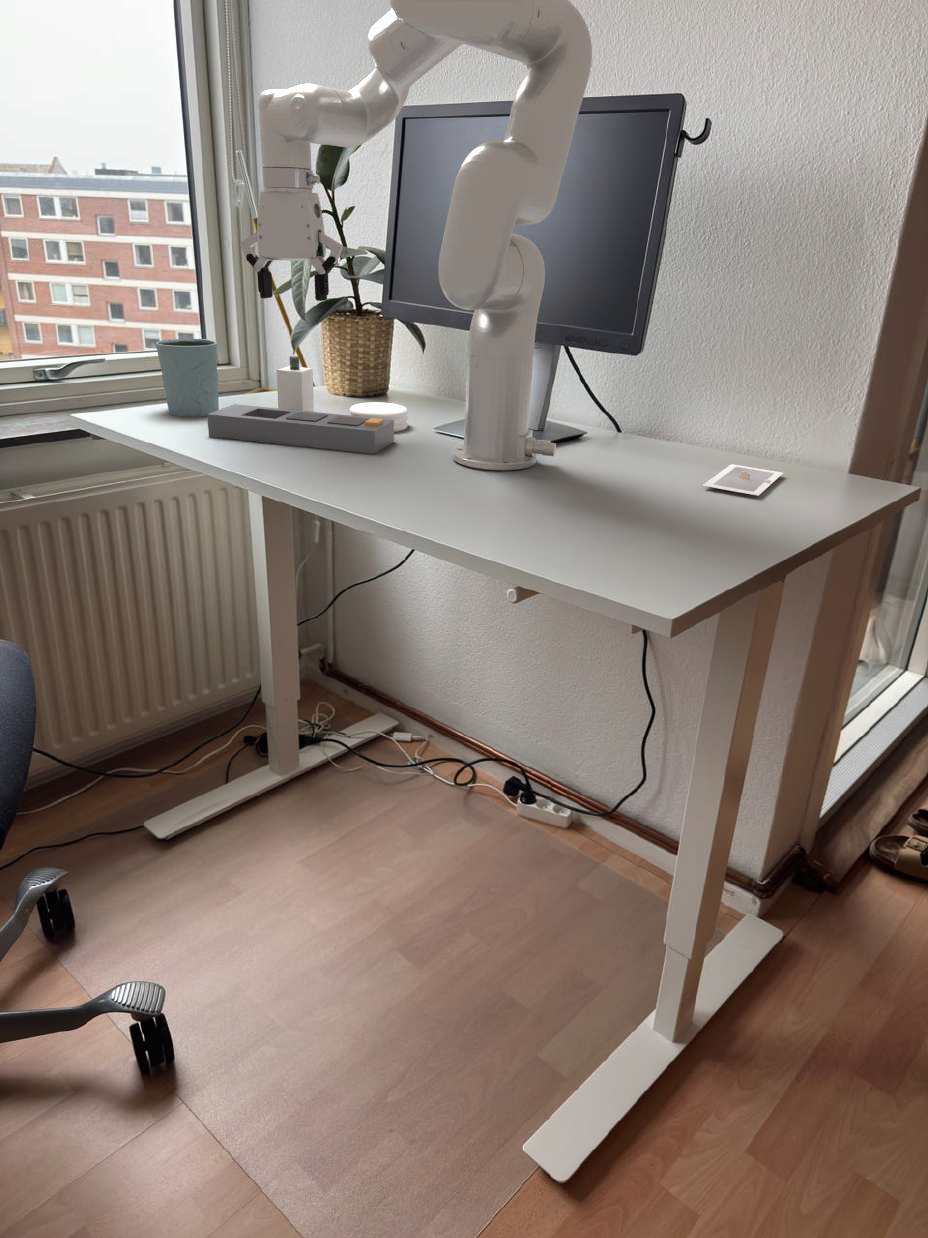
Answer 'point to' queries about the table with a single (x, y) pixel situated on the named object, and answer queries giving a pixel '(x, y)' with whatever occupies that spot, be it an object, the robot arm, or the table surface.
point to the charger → (295, 387)
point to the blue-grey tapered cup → (189, 376)
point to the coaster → (382, 413)
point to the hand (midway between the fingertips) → (293, 298)
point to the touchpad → (743, 479)
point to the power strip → (302, 428)
